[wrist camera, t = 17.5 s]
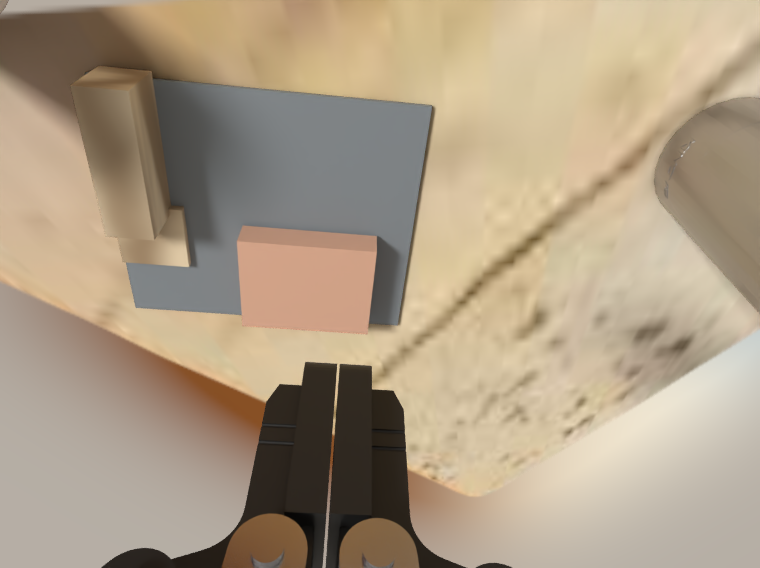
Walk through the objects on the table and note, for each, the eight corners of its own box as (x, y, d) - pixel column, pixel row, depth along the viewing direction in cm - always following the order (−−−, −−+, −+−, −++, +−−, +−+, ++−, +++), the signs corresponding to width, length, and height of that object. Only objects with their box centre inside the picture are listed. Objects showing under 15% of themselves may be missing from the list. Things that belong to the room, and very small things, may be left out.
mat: (431, 105, 36) (432, 106, 35) (397, 323, 47) (397, 325, 47) (86, 71, 34) (84, 73, 34) (137, 305, 45) (135, 307, 45)
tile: (243, 223, 40) (376, 234, 41) (248, 306, 45) (367, 314, 46) (236, 241, 38) (376, 252, 39) (242, 325, 43) (367, 334, 44)
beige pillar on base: (166, 72, 34) (144, 92, 31) (191, 262, 42) (176, 293, 39) (83, 64, 33) (53, 83, 30) (125, 257, 42) (105, 288, 39)
